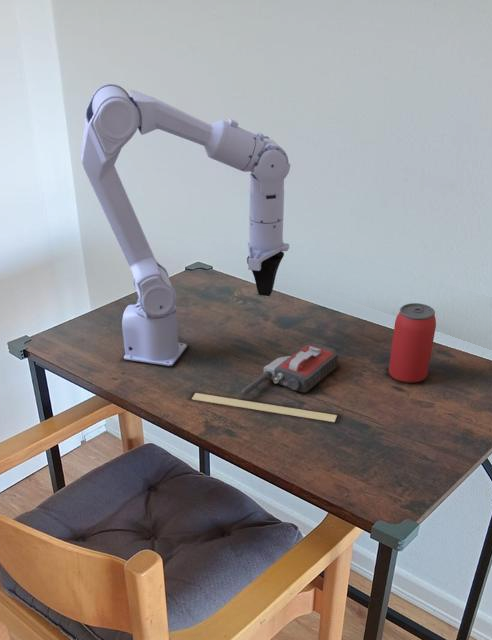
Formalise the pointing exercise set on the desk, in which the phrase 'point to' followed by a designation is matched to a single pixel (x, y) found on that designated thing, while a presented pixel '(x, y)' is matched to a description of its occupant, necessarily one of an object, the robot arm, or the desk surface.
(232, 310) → the desk surface
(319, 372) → the walkie-talkie
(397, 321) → the beer can
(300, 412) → the tape line
